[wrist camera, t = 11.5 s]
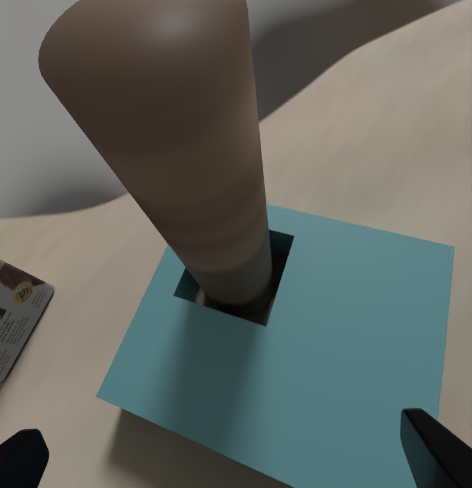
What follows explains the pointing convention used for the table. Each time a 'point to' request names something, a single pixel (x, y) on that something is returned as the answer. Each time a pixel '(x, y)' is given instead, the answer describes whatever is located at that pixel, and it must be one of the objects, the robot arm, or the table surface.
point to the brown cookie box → (18, 311)
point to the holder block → (298, 356)
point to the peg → (175, 128)
